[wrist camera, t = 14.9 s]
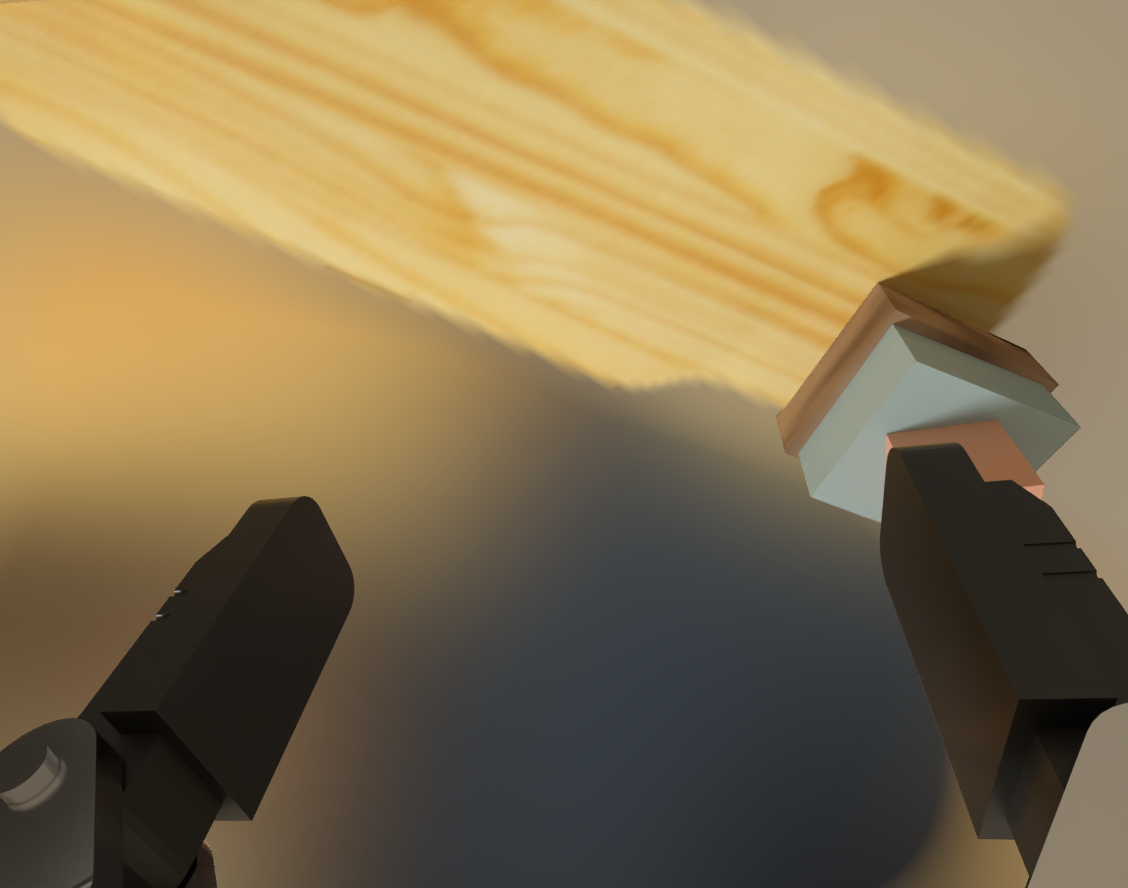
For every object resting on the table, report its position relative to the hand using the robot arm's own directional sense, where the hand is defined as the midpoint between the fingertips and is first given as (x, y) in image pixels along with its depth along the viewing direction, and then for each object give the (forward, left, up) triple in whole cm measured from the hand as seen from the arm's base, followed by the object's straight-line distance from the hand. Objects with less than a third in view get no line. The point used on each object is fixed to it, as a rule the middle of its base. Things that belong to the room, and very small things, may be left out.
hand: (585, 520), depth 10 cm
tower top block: (+13, -18, -27) cm, 35 cm away
